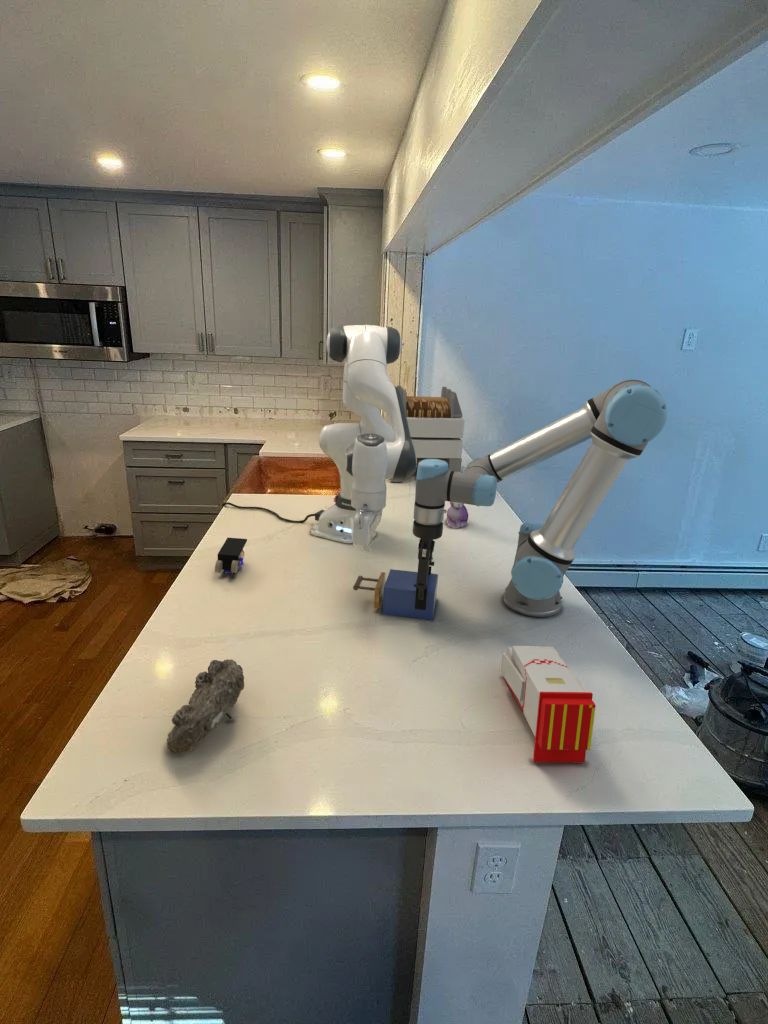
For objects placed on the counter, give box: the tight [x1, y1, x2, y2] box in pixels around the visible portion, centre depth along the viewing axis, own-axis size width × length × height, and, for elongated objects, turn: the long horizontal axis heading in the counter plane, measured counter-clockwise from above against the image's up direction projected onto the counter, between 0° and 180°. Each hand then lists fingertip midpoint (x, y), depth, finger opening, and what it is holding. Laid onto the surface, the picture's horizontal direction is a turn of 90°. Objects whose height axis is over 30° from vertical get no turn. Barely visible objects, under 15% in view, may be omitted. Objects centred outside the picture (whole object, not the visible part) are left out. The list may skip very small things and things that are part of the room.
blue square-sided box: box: [382, 568, 439, 621], centre depth 150 cm, size 13×11×8 cm
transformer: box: [385, 384, 465, 483], centre depth 268 cm, size 34×33×41 cm
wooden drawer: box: [352, 571, 387, 610], centre depth 151 cm, size 18×10×6 cm, turn 80°
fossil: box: [166, 658, 245, 754], centre depth 106 cm, size 22×10×15 cm
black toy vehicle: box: [214, 537, 248, 578], centre depth 166 cm, size 7×8×15 cm
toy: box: [499, 645, 597, 764], centre depth 112 cm, size 12×13×30 cm
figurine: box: [445, 502, 469, 529], centre depth 209 cm, size 9×10×15 cm
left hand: (367, 549), depth 148 cm, fingers closed
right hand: (422, 598), depth 150 cm, fingers closed on blue square-sided box, 11 cm apart
